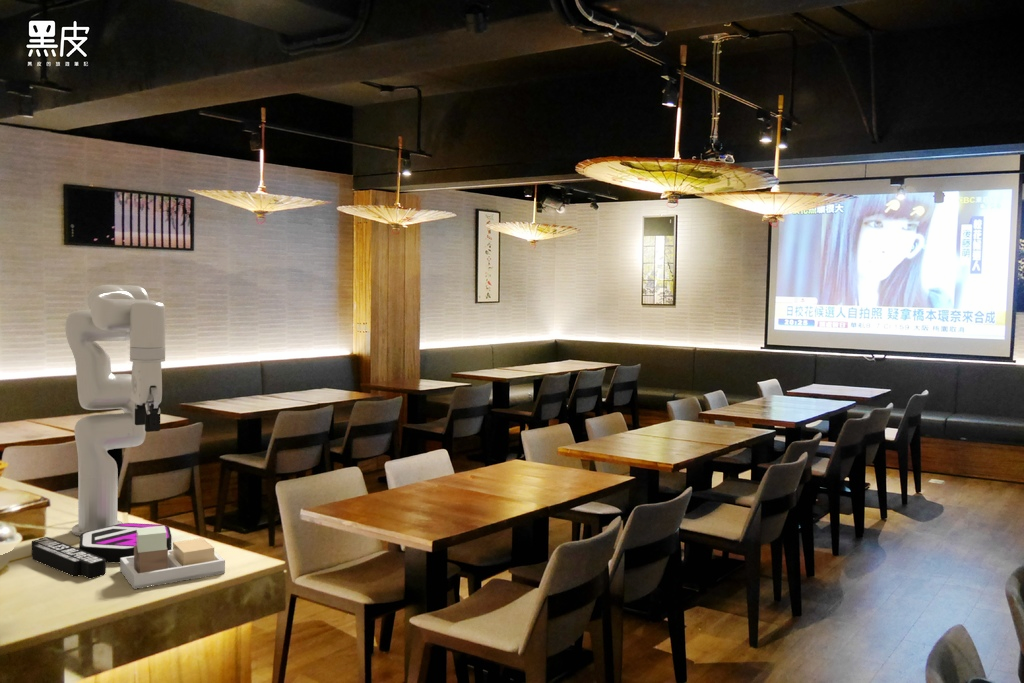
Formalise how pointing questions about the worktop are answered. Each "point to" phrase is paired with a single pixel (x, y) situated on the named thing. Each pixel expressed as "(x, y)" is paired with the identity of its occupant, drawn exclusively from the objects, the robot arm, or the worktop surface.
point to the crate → (178, 564)
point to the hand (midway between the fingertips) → (147, 427)
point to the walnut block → (150, 560)
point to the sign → (91, 549)
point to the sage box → (151, 539)
